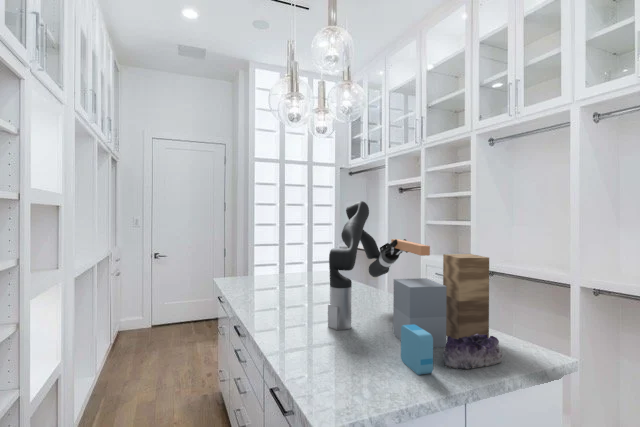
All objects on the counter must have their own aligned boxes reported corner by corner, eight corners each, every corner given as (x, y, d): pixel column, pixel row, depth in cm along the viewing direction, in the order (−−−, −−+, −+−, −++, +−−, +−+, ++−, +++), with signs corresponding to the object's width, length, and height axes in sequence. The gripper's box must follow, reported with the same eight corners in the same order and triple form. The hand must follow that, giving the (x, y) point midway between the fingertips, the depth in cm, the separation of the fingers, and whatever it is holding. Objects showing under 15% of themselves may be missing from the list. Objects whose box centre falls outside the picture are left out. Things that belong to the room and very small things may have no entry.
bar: (429, 255, 129) (429, 245, 129) (420, 255, 129) (420, 246, 129) (398, 246, 159) (398, 239, 159) (391, 246, 158) (391, 239, 158)
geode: (463, 377, 104) (459, 342, 105) (435, 367, 115) (432, 335, 116) (510, 363, 112) (506, 331, 113) (481, 354, 123) (477, 325, 124)
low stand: (446, 347, 127) (446, 286, 127) (409, 349, 125) (409, 287, 125) (426, 332, 143) (426, 278, 143) (393, 333, 141) (393, 279, 141)
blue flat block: (433, 375, 105) (433, 335, 105) (419, 376, 104) (419, 336, 104) (412, 359, 117) (413, 322, 117) (400, 360, 115) (400, 323, 115)
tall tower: (488, 342, 132) (489, 257, 132) (459, 344, 130) (459, 258, 130) (470, 332, 143) (470, 253, 143) (442, 333, 142) (443, 254, 142)
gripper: (373, 249, 167) (384, 233, 152) (401, 248, 169) (414, 233, 155) (375, 264, 163) (386, 249, 149) (404, 263, 166) (418, 248, 151)
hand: (401, 241), depth 152 cm, fingers closed on bar, 3 cm apart
